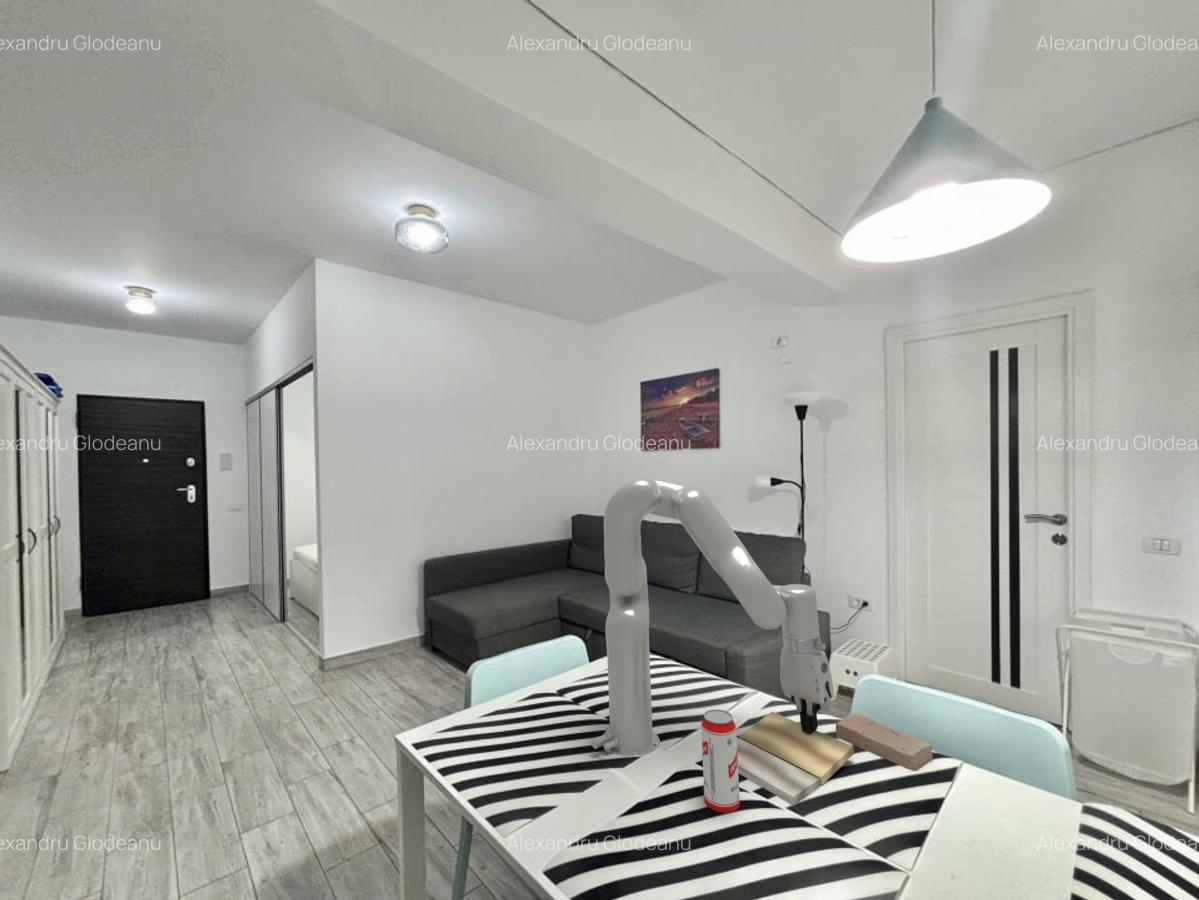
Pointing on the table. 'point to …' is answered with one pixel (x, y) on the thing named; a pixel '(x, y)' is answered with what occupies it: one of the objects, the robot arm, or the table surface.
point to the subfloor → (774, 773)
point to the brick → (884, 741)
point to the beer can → (720, 761)
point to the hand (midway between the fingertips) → (809, 730)
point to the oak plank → (799, 746)
